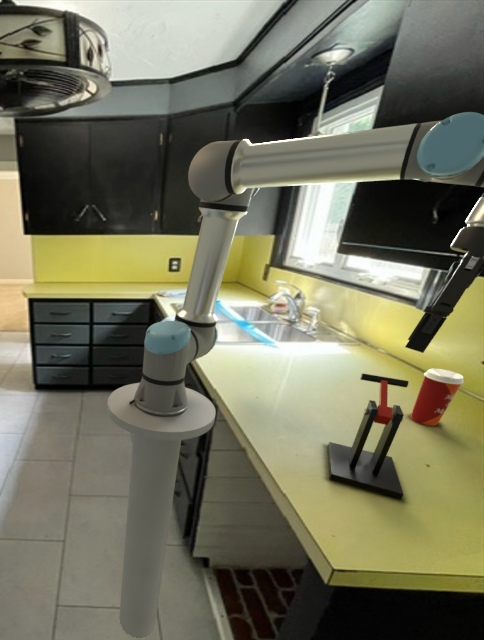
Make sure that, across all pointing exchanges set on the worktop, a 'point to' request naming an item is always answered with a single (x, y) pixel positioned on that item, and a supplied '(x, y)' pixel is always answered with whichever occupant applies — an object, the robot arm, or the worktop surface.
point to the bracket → (368, 457)
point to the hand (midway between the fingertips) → (414, 345)
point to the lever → (384, 396)
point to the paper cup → (435, 395)
